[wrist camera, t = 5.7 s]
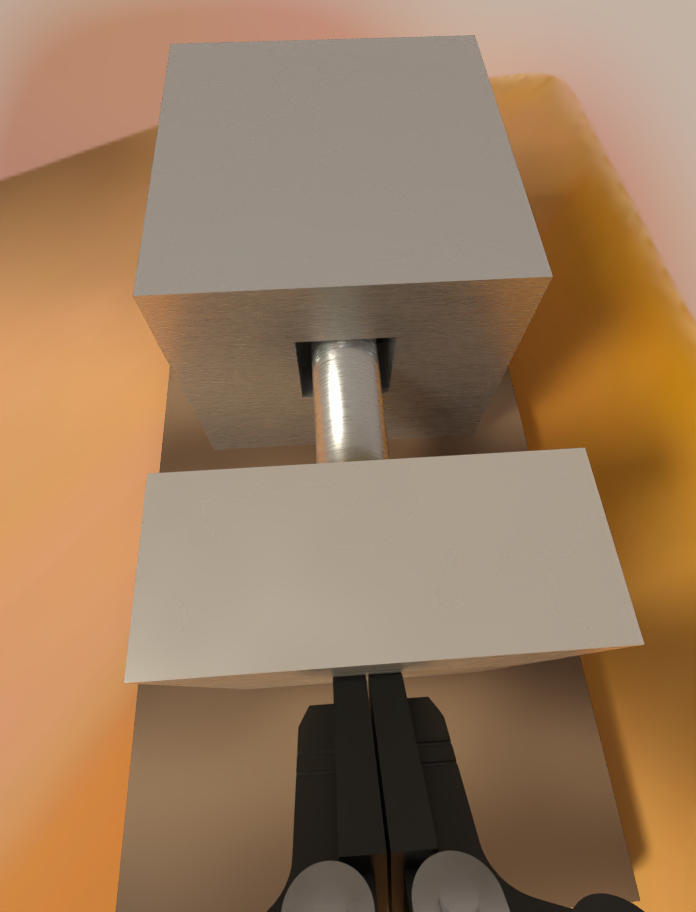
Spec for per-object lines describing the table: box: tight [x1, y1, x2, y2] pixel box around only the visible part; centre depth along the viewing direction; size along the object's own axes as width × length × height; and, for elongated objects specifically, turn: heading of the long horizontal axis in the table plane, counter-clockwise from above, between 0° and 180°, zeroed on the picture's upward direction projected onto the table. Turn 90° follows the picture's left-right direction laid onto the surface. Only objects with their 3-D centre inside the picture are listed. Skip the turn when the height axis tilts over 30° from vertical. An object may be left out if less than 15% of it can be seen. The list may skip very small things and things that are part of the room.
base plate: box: [116, 367, 640, 912], centre depth 20 cm, size 27×14×1 cm, turn 4°
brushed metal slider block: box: [124, 338, 644, 689], centre depth 15 cm, size 21×7×10 cm, turn 4°
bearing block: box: [133, 35, 553, 450], centre depth 18 cm, size 11×10×8 cm
